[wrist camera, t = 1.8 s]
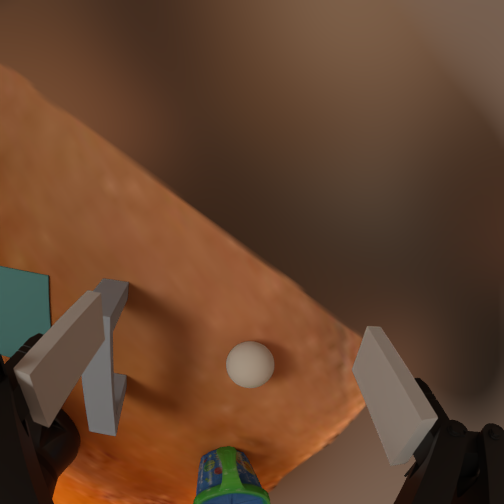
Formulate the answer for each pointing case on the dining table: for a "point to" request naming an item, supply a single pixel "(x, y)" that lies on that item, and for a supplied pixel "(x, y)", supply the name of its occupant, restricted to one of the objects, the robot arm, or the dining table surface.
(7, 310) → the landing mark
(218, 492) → the snack cup
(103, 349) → the bridge
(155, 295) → the dining table surface
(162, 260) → the dining table surface
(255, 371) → the ball
